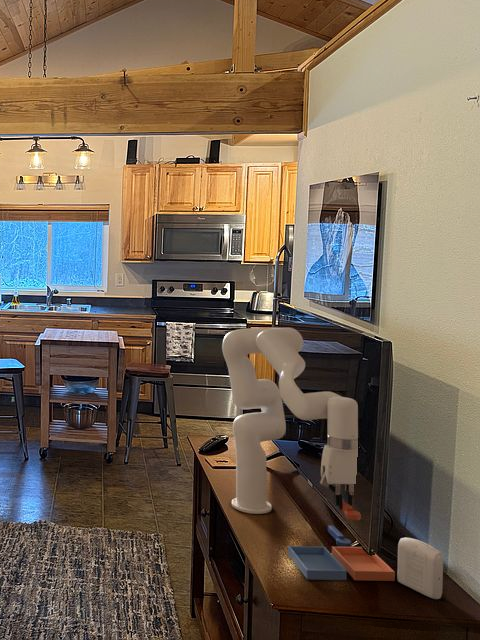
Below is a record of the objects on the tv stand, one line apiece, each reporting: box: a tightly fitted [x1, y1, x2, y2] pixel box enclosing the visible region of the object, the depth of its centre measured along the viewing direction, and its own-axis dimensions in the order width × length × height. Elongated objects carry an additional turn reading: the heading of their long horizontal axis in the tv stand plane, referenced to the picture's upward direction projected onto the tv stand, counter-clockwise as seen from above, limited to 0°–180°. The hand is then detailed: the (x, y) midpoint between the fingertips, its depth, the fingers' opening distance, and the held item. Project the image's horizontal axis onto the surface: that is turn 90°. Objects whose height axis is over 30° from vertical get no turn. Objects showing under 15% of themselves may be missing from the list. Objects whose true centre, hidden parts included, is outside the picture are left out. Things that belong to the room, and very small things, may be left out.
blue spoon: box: [327, 524, 352, 547], centre depth 193 cm, size 11×4×2 cm, turn 175°
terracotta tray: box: [331, 546, 396, 582], centre depth 176 cm, size 14×10×2 cm
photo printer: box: [396, 537, 444, 600], centre depth 164 cm, size 10×4×12 cm, turn 23°
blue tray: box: [287, 545, 348, 581], centre depth 177 cm, size 14×10×2 cm
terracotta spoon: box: [340, 498, 361, 521], centre depth 179 cm, size 11×4×2 cm, turn 175°
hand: (342, 507), depth 181 cm, fingers closed on terracotta spoon, 1 cm apart
